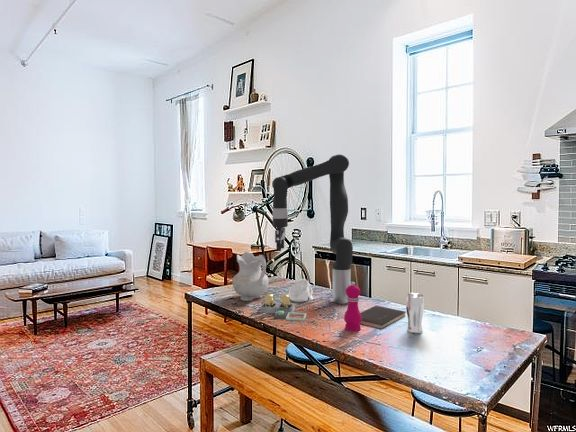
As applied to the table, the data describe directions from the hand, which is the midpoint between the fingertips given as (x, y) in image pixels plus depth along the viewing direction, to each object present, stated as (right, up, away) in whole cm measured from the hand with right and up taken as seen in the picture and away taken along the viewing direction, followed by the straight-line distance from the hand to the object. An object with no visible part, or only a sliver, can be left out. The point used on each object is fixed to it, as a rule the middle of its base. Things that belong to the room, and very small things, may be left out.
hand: (280, 249), depth 201 cm
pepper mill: (+31, -31, -33) cm, 55 cm away
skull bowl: (+11, -28, +9) cm, 31 cm away
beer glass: (+56, -31, -36) cm, 73 cm away
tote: (+7, -30, -21) cm, 37 cm away
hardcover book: (+44, -30, -20) cm, 57 cm away
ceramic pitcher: (-15, -28, +14) cm, 34 cm away
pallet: (-1, -29, -10) cm, 31 cm away
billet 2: (+3, -28, -11) cm, 30 cm away
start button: (+1, -28, -20) cm, 35 cm away
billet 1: (-5, -28, -9) cm, 30 cm away
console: (+1, -30, -20) cm, 36 cm away
